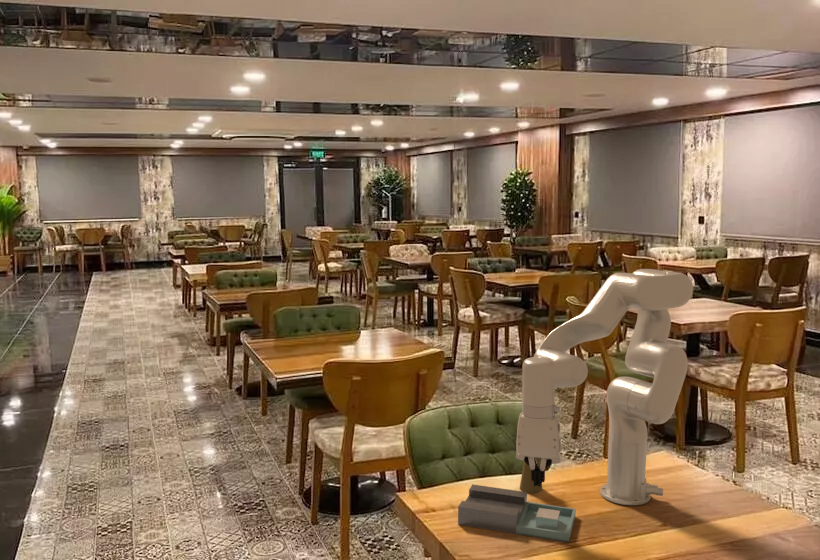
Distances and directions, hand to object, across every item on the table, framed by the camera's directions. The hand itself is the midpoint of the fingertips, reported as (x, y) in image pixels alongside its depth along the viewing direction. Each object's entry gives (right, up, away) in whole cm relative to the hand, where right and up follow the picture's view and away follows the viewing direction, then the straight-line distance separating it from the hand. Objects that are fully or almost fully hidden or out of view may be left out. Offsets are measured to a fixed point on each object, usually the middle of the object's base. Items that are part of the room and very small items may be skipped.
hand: (538, 483), depth 174 cm
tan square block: (+2, -7, -1) cm, 7 cm away
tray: (+2, -10, 0) cm, 10 cm away
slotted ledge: (-10, -9, +4) cm, 14 cm away
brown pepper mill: (+2, -7, +21) cm, 22 cm away
